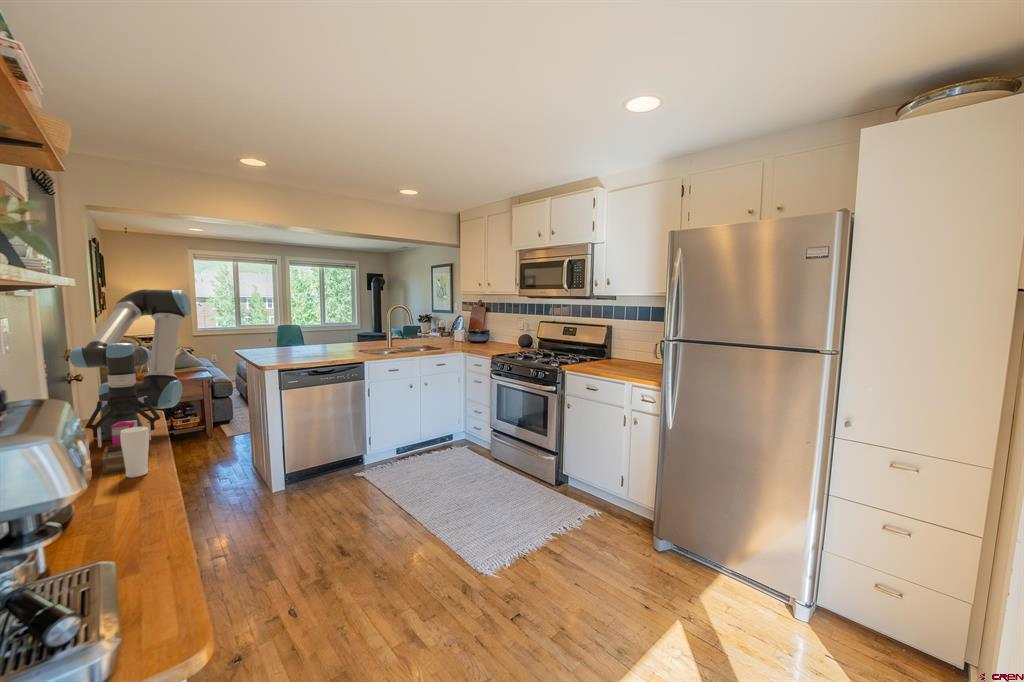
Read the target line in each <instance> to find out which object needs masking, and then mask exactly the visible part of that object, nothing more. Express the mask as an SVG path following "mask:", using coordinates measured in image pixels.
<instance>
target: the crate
mask: <svg viewBox="0 0 1024 682" xmlns="http://www.w3.org/2000/svg"><path fill="white" fill-rule="evenodd" d="M101 458H102V459H101V461H102V463H101V464H102V475H107V474H106V473H108V474H112V473H111V472H114V473H119V472H125V471H126V470H125V464H124V459H123V453H122V448H121V445H114V446H113V445H108V446H107V445H106V446H105V447H104V449H103V454H102V457H101ZM124 470H125V471H124ZM118 471H119V472H118Z"/></svg>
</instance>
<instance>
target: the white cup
mask: <svg viewBox="0 0 1024 682" xmlns="http://www.w3.org/2000/svg"><path fill="white" fill-rule="evenodd" d="M120 440H121V448H122V453H123V459H124V464H125V476H126V477H127V478H129V479H130V478H138V477H143V476H145V475H146V474H148V472H149V468H148V467H149V447H150V440H149V433H148V426H144V427H133V428H127V429H124V430H122V431H120Z"/></svg>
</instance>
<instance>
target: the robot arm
mask: <svg viewBox="0 0 1024 682" xmlns="http://www.w3.org/2000/svg"><path fill="white" fill-rule="evenodd" d="M113 305H114V306H113V307H112V313H111V314H110V316H108V318H107V320H105V322H104V323H103V324H102V326H101V327H100V328H99V329H98V331H97V332H96V333H95V334H94V336H93V337H92V339H90V341H89V342H88V343H87V345H86V346H85V347H83V346H81V347H75V348H73V349H72V350H71V351H70V353H69V361H70V363H71V365H72V366H73V367H75V368H78V369H79V368H81V369H83V368H86V369H89V368H90V369H91V368H92V369H93V368H107V381H106V382H104V383H102V384H100V385H99V386H98V395H97V396H98V400H97V403H96V408H95V410H94V411H93V413H92V415H91V416H90V417H89V420H88V421H87V423H86V425H85V429H87V430H88V429H91V431H92V437H93V439H95V440H97V447H98V448H102V445H103V444H102V442H103V441H112V433H111V426H112V425H114V424H115V423H117V422H122V421H133V420H137V427H145V426H144V423H143V422H142V420H141V417H140V416H142V417H143V418H145V419H146V420H147V427H148V433H149V441H152V432H151V431H155V422H156V421H159V420H160V419H161V416H160V415H159V413H158V412H157V411H156V409H161V410H163V409H168V408H173V407H175V406H177V404H178V403H179V402H180V401H181V397H182V394H183V384H182V381H180V380H178V376H177V375H176V374H175V366H176V358H177V351H178V341H179V340H178V339H179V334H180V333H179V331H180V325H181V323H183V322H184V321H185V317H187V316H190V315H191V313H192V305H191V301H190V298H189V296H188V294H187V292H186V291H184V290H182V289H181V290H180V289H148V288H147V289H145V288H144V289H139V290H135V291H132V292H130V293H128V294H127V295H124V296H123V297H121V298H120V299H119V300H118V301H117V302H116V303H115V304H113ZM142 316H150V317H151V318H152V320H154V328H153V334H152V343H151V349H149V348H147V347H146V346H142V345H135V344H133V343H130V342H121V341H122V339H123V338H124V336H126V333H127V332H128V331H129V329H130V328H131V326H132V325H133V324H134V323H135V321H138V320H139V319H140V318H141V317H142ZM150 350H151V351H150ZM148 363H149V366H148V371H147V373H146V374H144V375H143V376H142V381H138V380H137V379H136V376H137V374H136V367H141V366H144V365H146V364H148ZM144 410H148V411H149V412H150V413H151V414H152V416H151V415H150V414H148V413H147V412H145V411H144ZM98 414H100V418H99V420H97V422H96V423H95V424H93V423H94V421H95V420H96V418H97V417H98ZM139 415H140V416H139Z"/></svg>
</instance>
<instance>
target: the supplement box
mask: <svg viewBox="0 0 1024 682" xmlns="http://www.w3.org/2000/svg"><path fill="white" fill-rule="evenodd" d="M133 427H137V420H133V421H122V422H117V423H115V424H114V425H112V426H111V433H112V440H111V441H112V446H114V445H121V440H120V431H122V430H124V429H127V428H133Z"/></svg>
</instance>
